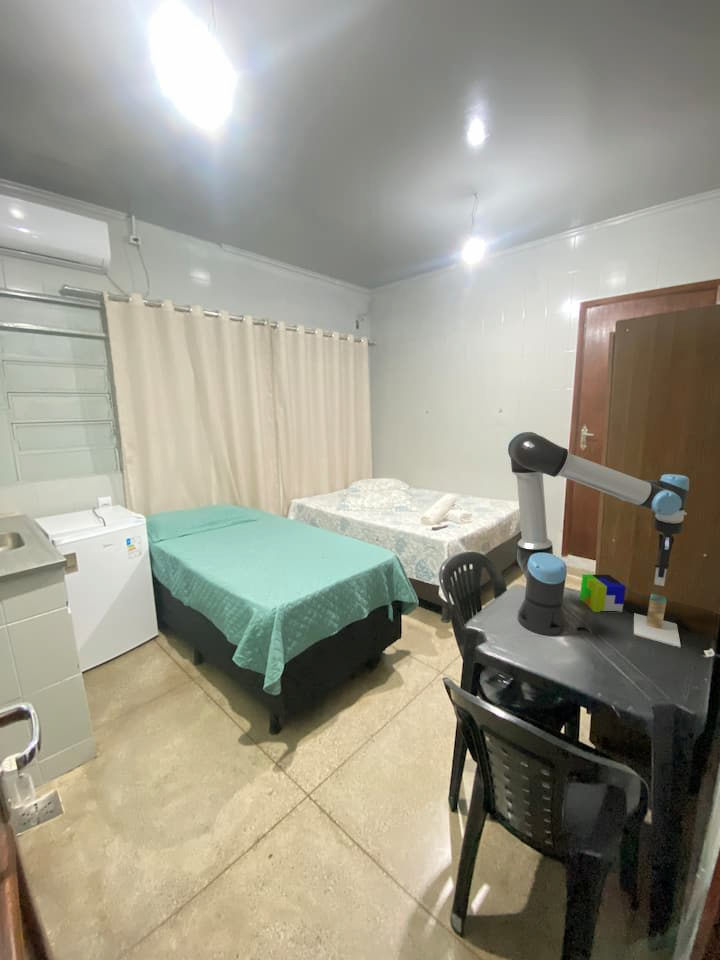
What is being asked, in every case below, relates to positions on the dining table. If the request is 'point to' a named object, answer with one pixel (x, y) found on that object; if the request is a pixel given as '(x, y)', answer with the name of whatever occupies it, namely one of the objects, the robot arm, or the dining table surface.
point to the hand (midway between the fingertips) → (659, 584)
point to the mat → (656, 631)
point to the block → (656, 611)
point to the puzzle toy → (602, 593)
